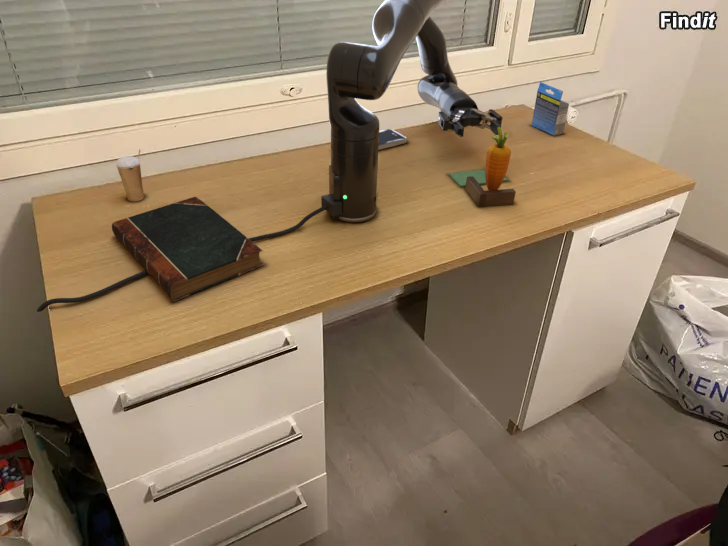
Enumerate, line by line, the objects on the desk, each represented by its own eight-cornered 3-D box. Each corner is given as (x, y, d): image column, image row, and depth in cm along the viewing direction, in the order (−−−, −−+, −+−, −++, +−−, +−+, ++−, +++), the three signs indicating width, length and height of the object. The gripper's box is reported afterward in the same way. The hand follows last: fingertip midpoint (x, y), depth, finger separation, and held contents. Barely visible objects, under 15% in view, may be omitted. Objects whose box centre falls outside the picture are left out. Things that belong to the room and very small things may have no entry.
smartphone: (342, 139, 148) (390, 128, 155) (342, 144, 149) (390, 133, 156) (358, 150, 143) (407, 138, 150) (358, 155, 144) (407, 143, 151)
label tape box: (563, 133, 159) (574, 88, 152) (552, 136, 157) (562, 91, 150) (540, 123, 165) (549, 79, 158) (529, 125, 163) (538, 81, 156)
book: (264, 266, 104) (199, 211, 120) (263, 249, 102) (196, 195, 118) (172, 303, 95) (114, 238, 110) (168, 285, 93) (110, 221, 108)
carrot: (503, 201, 126) (515, 135, 118) (479, 198, 127) (490, 132, 118) (503, 190, 130) (514, 126, 122) (480, 188, 131) (490, 124, 122)
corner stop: (478, 206, 124) (480, 194, 122) (465, 188, 131) (466, 176, 129) (513, 204, 126) (515, 191, 124) (498, 186, 132) (500, 174, 130)
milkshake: (154, 196, 124) (145, 152, 118) (131, 205, 121) (121, 160, 115) (143, 189, 126) (134, 146, 121) (120, 197, 123) (109, 153, 117)
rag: (460, 187, 131) (460, 185, 131) (448, 175, 136) (449, 173, 136) (508, 181, 134) (508, 179, 134) (495, 169, 139) (495, 168, 139)
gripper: (430, 92, 141) (452, 117, 128) (486, 90, 143) (513, 114, 130) (428, 123, 145) (448, 149, 132) (482, 120, 148) (507, 146, 135)
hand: (480, 131), depth 131 cm, fingers open, 8 cm apart
